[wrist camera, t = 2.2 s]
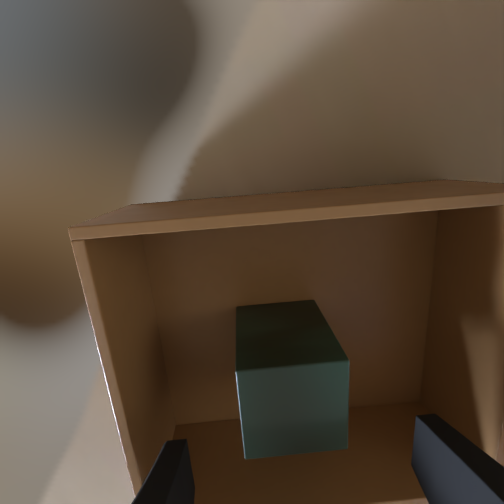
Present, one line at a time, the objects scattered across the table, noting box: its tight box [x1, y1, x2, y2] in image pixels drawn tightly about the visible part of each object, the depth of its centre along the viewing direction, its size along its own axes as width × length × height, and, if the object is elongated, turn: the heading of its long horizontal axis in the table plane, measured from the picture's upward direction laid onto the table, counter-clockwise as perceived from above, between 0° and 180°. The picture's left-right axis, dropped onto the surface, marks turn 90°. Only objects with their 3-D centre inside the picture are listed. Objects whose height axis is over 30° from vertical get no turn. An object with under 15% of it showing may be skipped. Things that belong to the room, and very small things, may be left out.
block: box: [235, 300, 350, 459], centre depth 13 cm, size 4×4×5 cm
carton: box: [68, 180, 504, 504], centre depth 13 cm, size 15×13×5 cm
